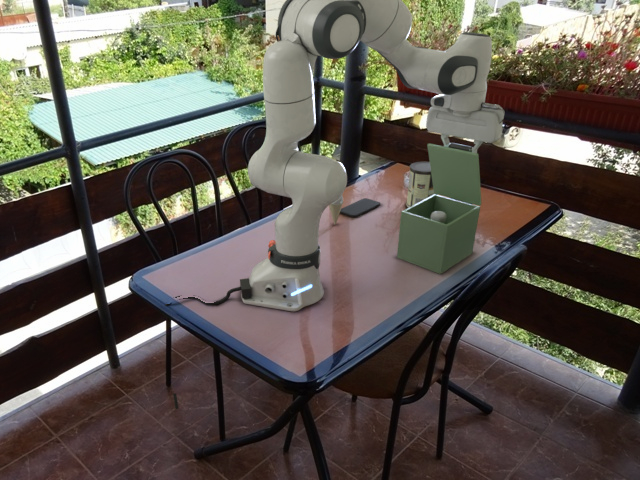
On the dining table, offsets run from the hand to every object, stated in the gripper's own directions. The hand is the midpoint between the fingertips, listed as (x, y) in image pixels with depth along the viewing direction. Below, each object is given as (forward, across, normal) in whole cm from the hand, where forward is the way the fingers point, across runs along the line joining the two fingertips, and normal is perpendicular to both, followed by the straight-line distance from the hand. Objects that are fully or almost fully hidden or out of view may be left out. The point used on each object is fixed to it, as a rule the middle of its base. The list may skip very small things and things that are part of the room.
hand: (459, 152), depth 152 cm
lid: (+6, 0, +1) cm, 6 cm away
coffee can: (+30, +24, -22) cm, 44 cm away
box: (+29, 0, +6) cm, 30 cm away
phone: (+30, +38, -6) cm, 48 cm away
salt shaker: (+29, 0, +7) cm, 30 cm away
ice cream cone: (+29, +36, +9) cm, 47 cm away
